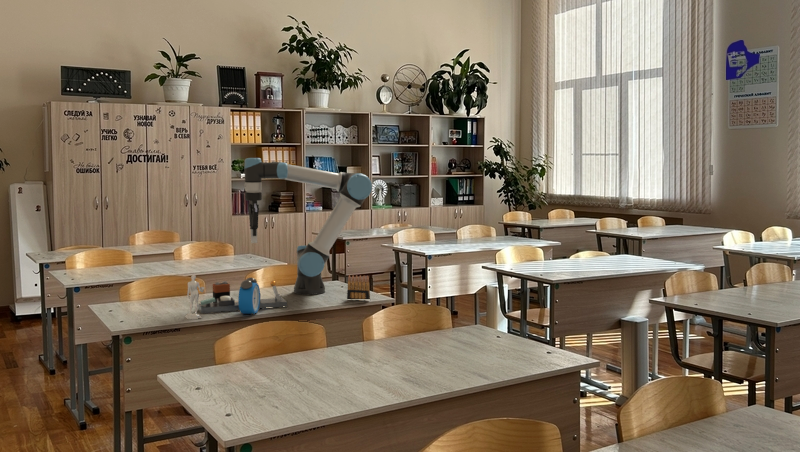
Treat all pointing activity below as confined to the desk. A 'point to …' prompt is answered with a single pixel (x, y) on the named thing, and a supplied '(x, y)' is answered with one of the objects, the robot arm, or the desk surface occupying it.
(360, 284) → the ammunition clip
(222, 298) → the button
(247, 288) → the alarm clock
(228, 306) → the panel
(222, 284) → the battery
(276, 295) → the lever
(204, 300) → the block
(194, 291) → the figurine
